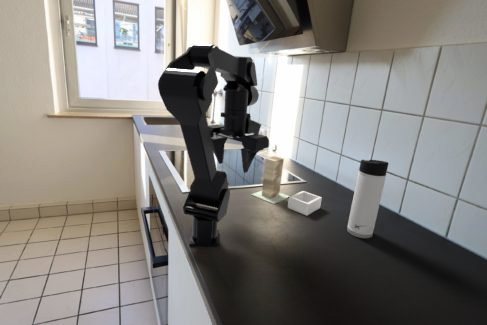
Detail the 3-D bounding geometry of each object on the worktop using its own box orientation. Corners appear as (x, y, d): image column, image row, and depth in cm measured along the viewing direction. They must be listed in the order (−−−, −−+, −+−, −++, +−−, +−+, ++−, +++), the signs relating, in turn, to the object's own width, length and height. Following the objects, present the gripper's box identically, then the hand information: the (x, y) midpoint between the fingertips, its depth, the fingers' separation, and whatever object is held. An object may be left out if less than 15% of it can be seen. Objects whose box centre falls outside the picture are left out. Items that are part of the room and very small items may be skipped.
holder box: (306, 215, 82) (308, 204, 81) (287, 207, 86) (288, 197, 85) (320, 207, 88) (321, 197, 87) (301, 200, 92) (302, 190, 91)
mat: (273, 204, 88) (273, 203, 88) (251, 195, 94) (251, 194, 94) (289, 197, 95) (289, 196, 95) (267, 188, 100) (267, 188, 100)
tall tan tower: (270, 198, 91) (274, 161, 88) (261, 195, 93) (265, 158, 90) (279, 195, 95) (283, 158, 91) (270, 191, 97) (274, 156, 94)
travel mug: (357, 240, 71) (374, 163, 66) (342, 227, 77) (356, 155, 72) (378, 238, 73) (396, 163, 67) (361, 225, 79) (376, 155, 73)
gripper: (284, 112, 72) (278, 170, 77) (231, 103, 84) (228, 154, 89) (256, 115, 64) (251, 180, 69) (202, 105, 76) (201, 161, 81)
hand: (232, 167), depth 77 cm, fingers open, 9 cm apart
